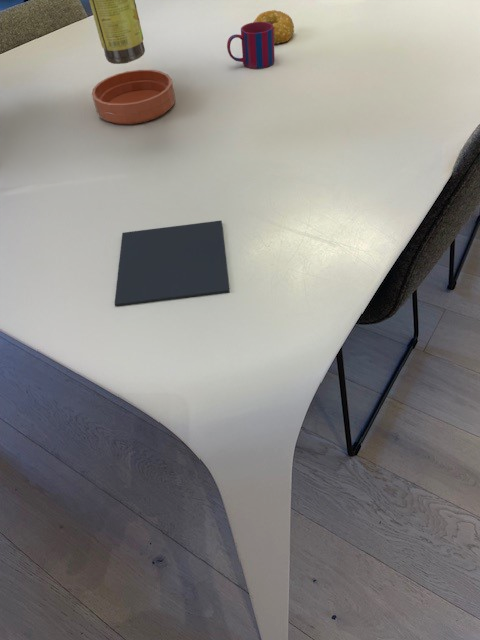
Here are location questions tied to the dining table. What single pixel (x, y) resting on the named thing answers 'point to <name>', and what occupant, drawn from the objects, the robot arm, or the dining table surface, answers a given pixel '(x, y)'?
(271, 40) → the mug
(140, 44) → the sauce bottle
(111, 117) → the dish
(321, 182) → the dining table surface
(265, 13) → the bagel
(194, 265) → the mat
